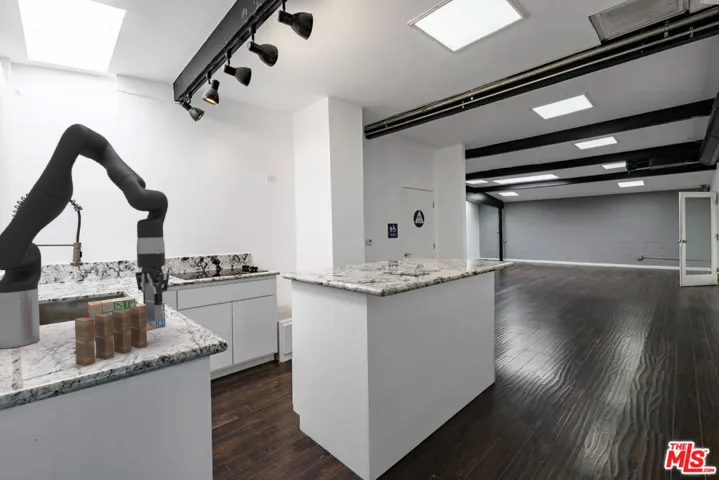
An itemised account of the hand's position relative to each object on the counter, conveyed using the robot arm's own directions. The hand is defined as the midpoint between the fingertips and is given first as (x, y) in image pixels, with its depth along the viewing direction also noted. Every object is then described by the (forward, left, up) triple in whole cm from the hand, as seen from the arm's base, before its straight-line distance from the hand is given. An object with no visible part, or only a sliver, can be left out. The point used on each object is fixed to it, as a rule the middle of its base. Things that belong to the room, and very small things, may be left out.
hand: (153, 304), depth 100 cm
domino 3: (-5, -8, -12) cm, 15 cm away
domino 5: (0, 0, -5) cm, 5 cm away
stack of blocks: (-15, +12, -13) cm, 23 cm away
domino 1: (-9, -16, -12) cm, 22 cm away
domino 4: (-2, -4, -12) cm, 13 cm away
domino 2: (-7, -12, -12) cm, 18 cm away
